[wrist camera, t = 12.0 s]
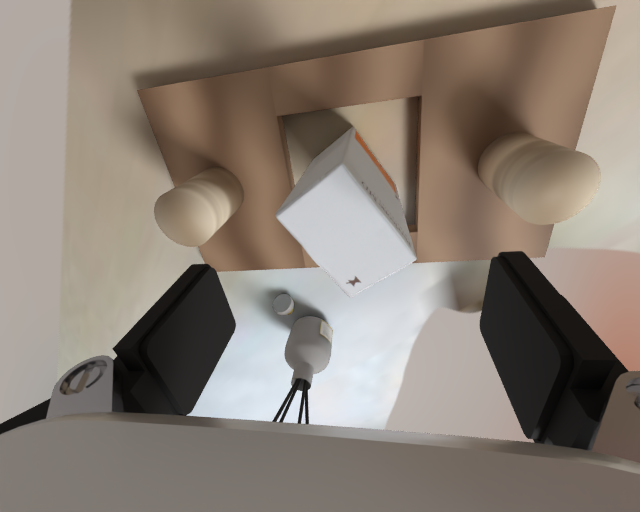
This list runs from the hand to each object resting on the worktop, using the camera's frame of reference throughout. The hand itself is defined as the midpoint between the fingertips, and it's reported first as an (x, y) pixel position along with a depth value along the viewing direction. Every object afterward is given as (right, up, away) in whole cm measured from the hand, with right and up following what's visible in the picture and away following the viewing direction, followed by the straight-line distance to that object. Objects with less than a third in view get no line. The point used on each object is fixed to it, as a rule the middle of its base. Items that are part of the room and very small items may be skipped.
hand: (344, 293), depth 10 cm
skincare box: (+2, +8, +14) cm, 16 cm away
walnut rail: (+2, +8, +14) cm, 16 cm away
